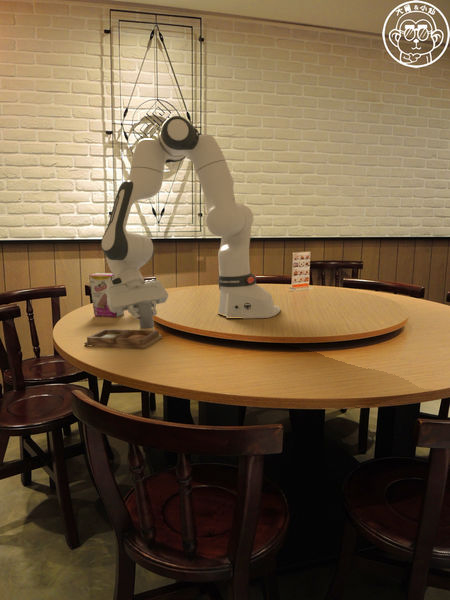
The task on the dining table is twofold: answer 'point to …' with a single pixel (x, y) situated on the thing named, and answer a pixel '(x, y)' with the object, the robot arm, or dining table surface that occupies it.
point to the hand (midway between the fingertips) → (146, 316)
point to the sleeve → (146, 315)
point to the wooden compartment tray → (124, 338)
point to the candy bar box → (101, 294)
